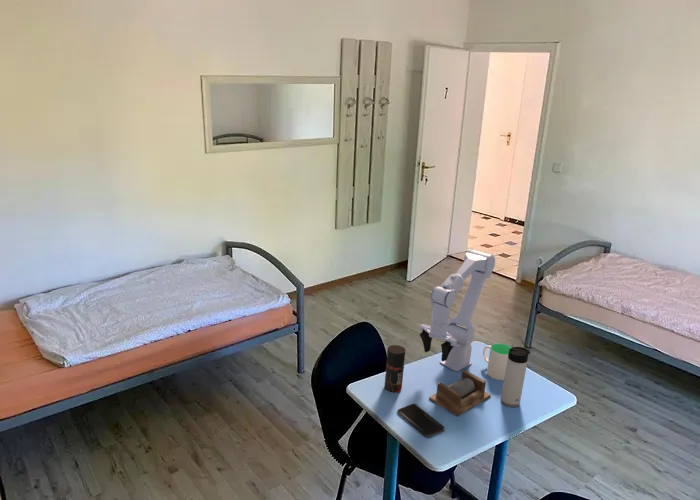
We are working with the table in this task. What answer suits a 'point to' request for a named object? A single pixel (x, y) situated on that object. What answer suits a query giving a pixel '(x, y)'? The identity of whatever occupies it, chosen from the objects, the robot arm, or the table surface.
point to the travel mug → (514, 376)
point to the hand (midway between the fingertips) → (435, 355)
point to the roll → (464, 387)
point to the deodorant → (394, 368)
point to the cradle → (460, 395)
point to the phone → (420, 420)
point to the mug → (497, 360)
